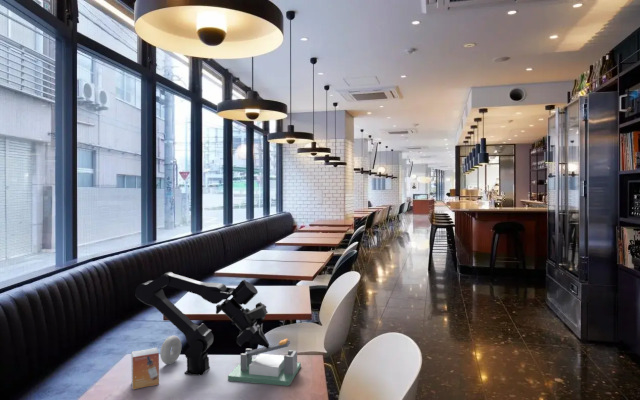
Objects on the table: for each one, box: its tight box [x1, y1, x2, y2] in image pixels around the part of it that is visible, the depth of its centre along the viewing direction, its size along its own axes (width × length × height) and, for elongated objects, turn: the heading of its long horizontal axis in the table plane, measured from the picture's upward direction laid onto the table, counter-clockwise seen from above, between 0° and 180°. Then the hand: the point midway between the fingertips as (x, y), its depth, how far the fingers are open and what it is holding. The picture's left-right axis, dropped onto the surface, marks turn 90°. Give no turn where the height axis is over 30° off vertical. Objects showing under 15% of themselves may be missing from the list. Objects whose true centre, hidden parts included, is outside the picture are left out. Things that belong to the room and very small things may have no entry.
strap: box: [244, 338, 291, 357], centre depth 141 cm, size 17×3×2 cm, turn 78°
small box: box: [131, 347, 160, 390], centre depth 134 cm, size 8×6×10 cm
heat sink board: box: [227, 348, 302, 387], centre depth 141 cm, size 21×15×8 cm
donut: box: [159, 335, 182, 365], centre depth 150 cm, size 10×4×10 cm, turn 164°
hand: (268, 346), depth 141 cm, fingers closed
